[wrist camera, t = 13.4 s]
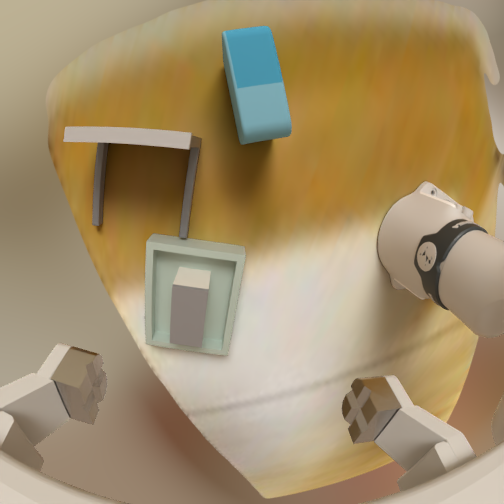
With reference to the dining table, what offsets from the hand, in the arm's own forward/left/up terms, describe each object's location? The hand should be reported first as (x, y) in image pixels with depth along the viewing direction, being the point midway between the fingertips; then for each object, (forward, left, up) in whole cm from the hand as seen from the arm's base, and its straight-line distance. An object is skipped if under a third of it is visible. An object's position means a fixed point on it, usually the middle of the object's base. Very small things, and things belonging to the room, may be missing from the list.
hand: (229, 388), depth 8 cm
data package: (0, -14, -32) cm, 35 cm away
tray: (+3, +15, -32) cm, 35 cm away
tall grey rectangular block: (+3, +15, -31) cm, 34 cm away
